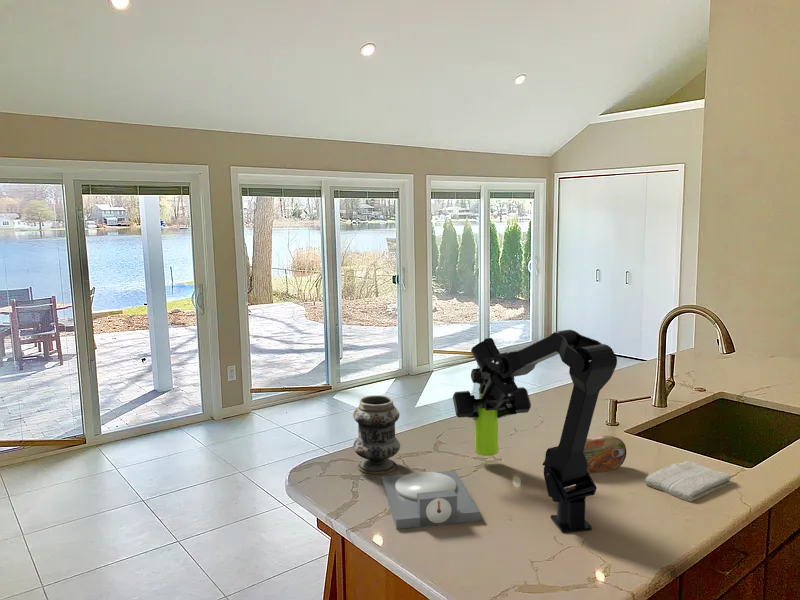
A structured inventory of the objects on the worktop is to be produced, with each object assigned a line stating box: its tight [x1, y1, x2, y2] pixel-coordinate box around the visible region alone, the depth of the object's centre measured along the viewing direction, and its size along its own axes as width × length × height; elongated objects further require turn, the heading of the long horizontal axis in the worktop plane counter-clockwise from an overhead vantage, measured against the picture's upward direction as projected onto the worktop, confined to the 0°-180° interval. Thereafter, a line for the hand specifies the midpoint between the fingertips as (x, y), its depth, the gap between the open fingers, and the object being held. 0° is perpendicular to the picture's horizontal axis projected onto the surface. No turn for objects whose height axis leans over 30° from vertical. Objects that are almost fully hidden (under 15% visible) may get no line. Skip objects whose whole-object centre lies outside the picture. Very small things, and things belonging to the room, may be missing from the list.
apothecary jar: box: [352, 394, 401, 475], centre depth 162 cm, size 12×12×18 cm
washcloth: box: [644, 460, 732, 503], centre depth 149 cm, size 12×18×3 cm, turn 125°
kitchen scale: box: [382, 470, 481, 530], centre depth 142 cm, size 22×18×6 cm
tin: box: [584, 435, 627, 475], centre depth 158 cm, size 15×3×8 cm, turn 105°
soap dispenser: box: [474, 392, 499, 457], centre depth 162 cm, size 6×7×20 cm
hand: (485, 417), depth 163 cm, fingers closed on soap dispenser, 6 cm apart
